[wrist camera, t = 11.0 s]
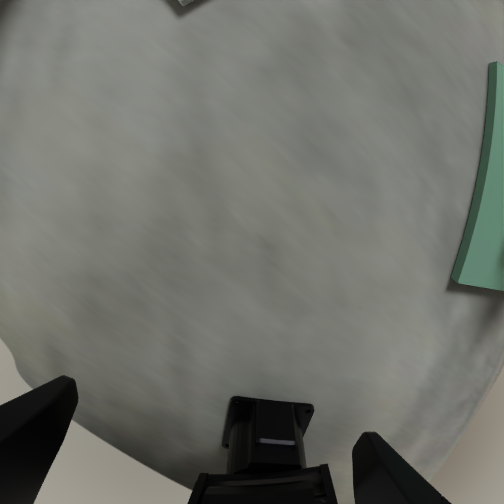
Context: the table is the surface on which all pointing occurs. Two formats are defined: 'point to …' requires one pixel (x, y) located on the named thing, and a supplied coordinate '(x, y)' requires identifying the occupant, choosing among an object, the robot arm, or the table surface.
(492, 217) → the board
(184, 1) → the external hard drive
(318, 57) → the table surface
